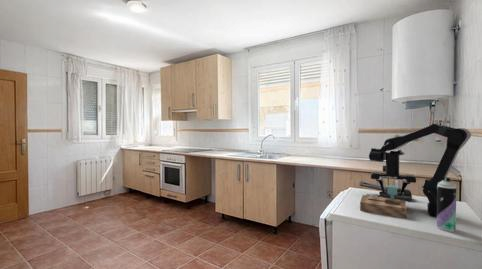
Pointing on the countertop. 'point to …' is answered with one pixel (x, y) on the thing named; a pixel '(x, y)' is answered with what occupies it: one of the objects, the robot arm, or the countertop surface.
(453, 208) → the spray can
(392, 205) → the keyhole plate
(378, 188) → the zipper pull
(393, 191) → the teal peg
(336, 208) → the countertop surface
